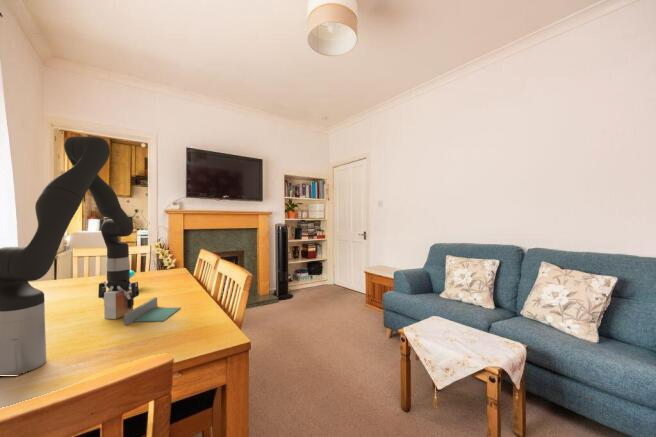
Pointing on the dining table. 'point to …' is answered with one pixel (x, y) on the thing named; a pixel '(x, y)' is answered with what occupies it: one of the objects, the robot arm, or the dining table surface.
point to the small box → (115, 304)
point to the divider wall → (140, 311)
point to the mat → (157, 315)
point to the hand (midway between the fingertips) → (119, 307)
